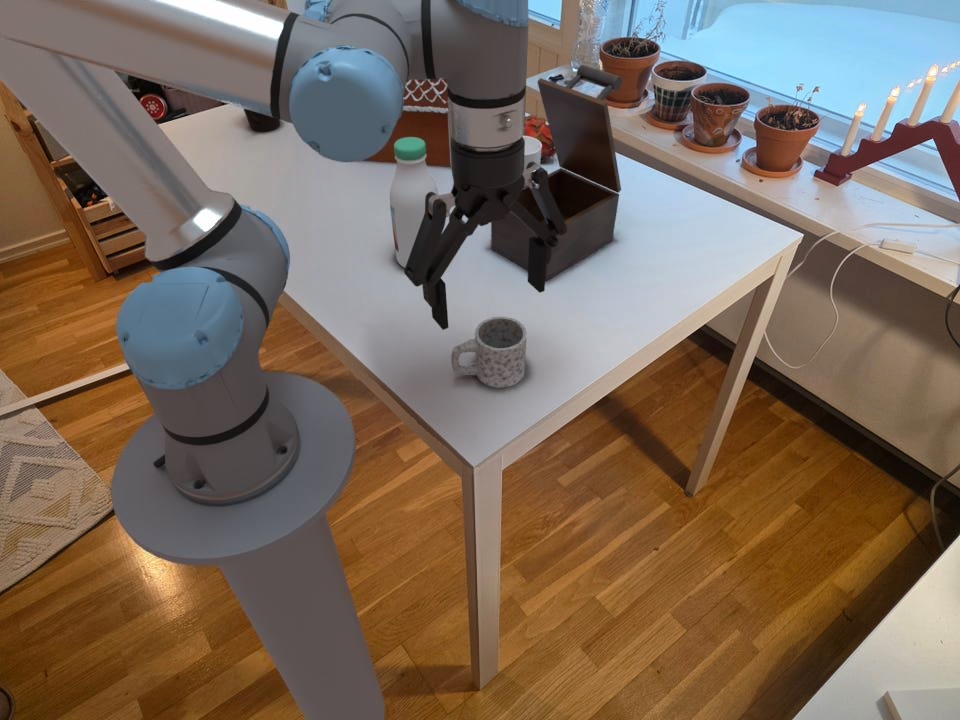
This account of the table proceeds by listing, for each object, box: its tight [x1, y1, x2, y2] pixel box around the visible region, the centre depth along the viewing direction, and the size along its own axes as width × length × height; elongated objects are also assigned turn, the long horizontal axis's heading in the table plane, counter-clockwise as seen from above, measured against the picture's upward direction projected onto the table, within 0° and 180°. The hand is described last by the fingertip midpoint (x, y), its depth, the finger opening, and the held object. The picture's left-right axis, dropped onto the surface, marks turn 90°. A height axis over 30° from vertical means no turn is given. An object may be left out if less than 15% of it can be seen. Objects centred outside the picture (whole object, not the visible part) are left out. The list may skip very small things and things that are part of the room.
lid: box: [536, 64, 623, 194], centre depth 101 cm, size 17×13×7 cm
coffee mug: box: [242, 108, 281, 133], centre depth 141 cm, size 12×9×10 cm
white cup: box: [522, 136, 542, 186], centre depth 118 cm, size 8×8×10 cm
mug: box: [450, 316, 528, 389], centre depth 85 cm, size 10×7×7 cm, turn 105°
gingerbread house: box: [363, 78, 452, 168], centre depth 131 cm, size 18×26×20 cm
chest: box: [490, 167, 620, 282], centre depth 106 cm, size 17×13×9 cm
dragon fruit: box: [523, 113, 556, 163], centre depth 131 cm, size 8×8×12 cm
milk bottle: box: [389, 137, 440, 269], centre depth 100 cm, size 8×8×20 cm
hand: (489, 304), depth 79 cm, fingers open, 13 cm apart
